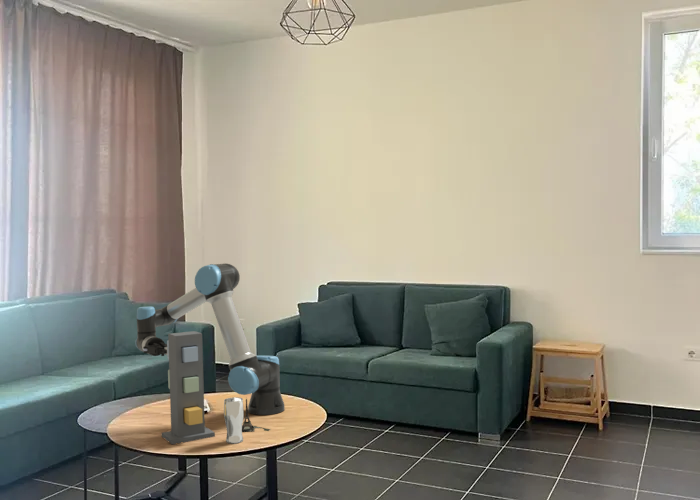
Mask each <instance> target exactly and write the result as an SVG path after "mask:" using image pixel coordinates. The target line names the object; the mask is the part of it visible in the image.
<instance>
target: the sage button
mask: <svg viewBox="0 0 700 500" xmlns="http://www.w3.org/2000/svg"><path fill="white" fill-rule="evenodd" d="M167 377H168V378H167V381H168V383H167V384H168V386H167V387H168V389H169V390H170V375H169V369H168V370H167ZM182 387H183V392H184V393H190V392H196V391H199V377H197V376H188V377H182Z"/></svg>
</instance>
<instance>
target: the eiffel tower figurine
mask: <svg viewBox="0 0 700 500" xmlns="http://www.w3.org/2000/svg"><path fill="white" fill-rule="evenodd" d="M245 397H246V398H245V415H244V420H243V424H242V433H253V432H255V429H263V431H265V432H269V431H271V430H272V429H271V428H264V427H261V426H257V425H253V424H252V422H251V420H250V415H249V412H248V398H247V396H245ZM226 431H227V428H226Z"/></svg>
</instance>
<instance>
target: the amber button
mask: <svg viewBox="0 0 700 500" xmlns="http://www.w3.org/2000/svg"><path fill="white" fill-rule="evenodd" d="M183 421H184V422H185V423H186V424H188V425H194V424H200V423H203V417H202V409H201V408H199V407H198V406H191V407H185V408H183Z"/></svg>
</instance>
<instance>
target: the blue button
mask: <svg viewBox="0 0 700 500" xmlns="http://www.w3.org/2000/svg"><path fill="white" fill-rule="evenodd" d="M166 344H167V354H168V355H167V360H168V361H169V341H168V340H166ZM181 353H182V362H193V361H198V347H196V346H185V347H181Z"/></svg>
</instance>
